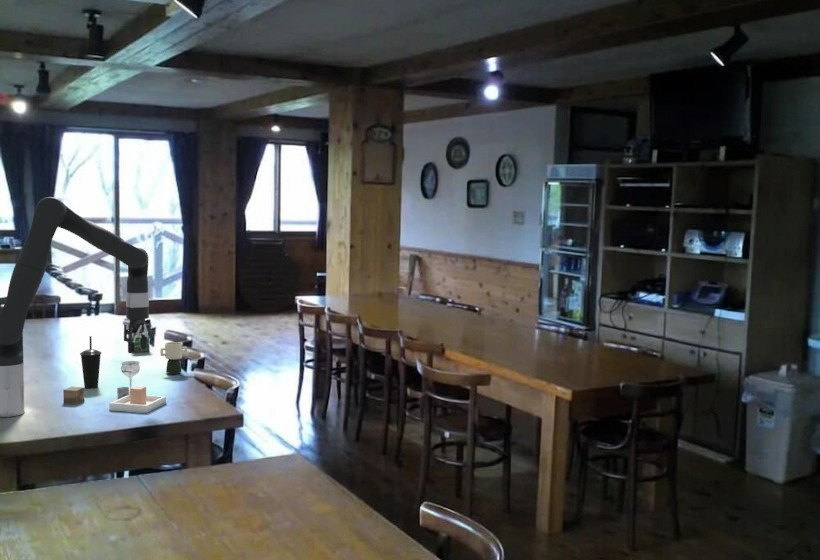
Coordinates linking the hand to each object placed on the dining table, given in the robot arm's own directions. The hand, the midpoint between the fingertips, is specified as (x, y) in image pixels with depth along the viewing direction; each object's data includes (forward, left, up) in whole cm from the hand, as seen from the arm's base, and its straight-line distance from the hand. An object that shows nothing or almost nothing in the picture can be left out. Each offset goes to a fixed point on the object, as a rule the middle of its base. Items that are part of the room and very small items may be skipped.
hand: (137, 350), depth 280 cm
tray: (0, 0, -20) cm, 20 cm away
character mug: (+54, +13, -20) cm, 59 cm away
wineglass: (+16, +12, -20) cm, 28 cm away
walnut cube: (0, +25, -20) cm, 32 cm away
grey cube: (+9, +11, -20) cm, 25 cm away
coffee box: (+94, +51, -20) cm, 109 cm away
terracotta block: (0, 0, -19) cm, 19 cm away
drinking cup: (+22, +32, -20) cm, 44 cm away
